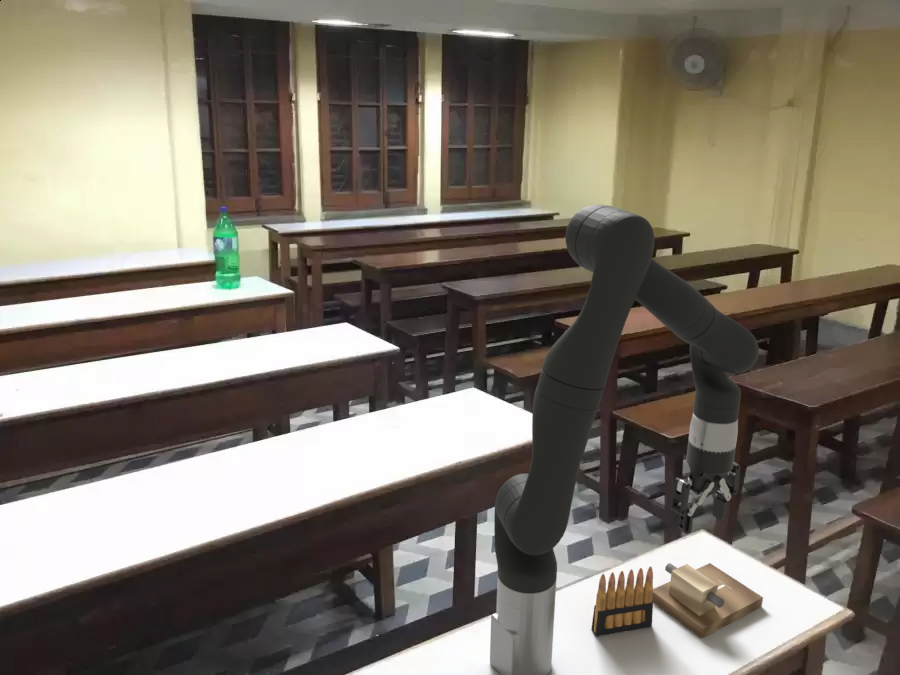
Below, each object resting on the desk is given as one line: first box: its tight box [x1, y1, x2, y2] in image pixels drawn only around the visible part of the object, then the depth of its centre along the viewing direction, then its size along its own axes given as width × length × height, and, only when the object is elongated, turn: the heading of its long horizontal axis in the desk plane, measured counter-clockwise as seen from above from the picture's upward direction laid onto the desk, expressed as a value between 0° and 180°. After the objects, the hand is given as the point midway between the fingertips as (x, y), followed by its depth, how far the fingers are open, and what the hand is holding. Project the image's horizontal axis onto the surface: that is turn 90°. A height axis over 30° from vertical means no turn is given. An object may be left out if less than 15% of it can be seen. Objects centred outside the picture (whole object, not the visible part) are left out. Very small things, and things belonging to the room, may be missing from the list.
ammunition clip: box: [591, 565, 654, 637], centre depth 127 cm, size 11×2×12 cm, turn 104°
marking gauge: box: [664, 562, 724, 616], centre depth 132 cm, size 4×12×5 cm, turn 31°
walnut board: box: [652, 563, 764, 639], centre depth 135 cm, size 16×12×2 cm
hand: (701, 524), depth 127 cm, fingers open, 8 cm apart
